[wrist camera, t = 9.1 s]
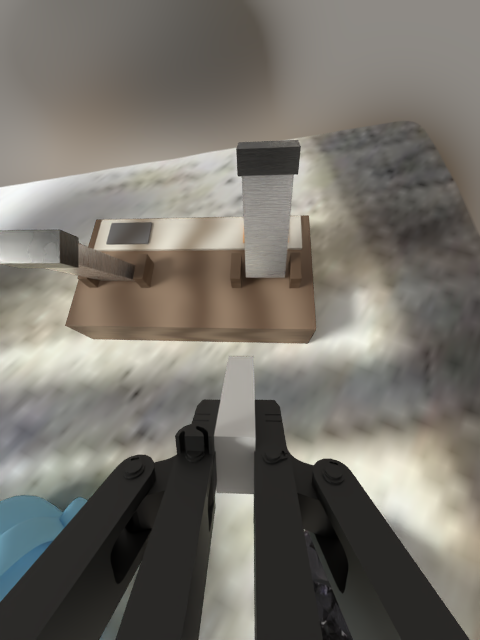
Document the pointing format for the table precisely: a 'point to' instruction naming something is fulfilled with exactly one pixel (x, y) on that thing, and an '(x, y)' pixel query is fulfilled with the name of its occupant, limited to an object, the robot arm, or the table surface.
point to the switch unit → (195, 285)
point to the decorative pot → (28, 533)
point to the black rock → (326, 599)
